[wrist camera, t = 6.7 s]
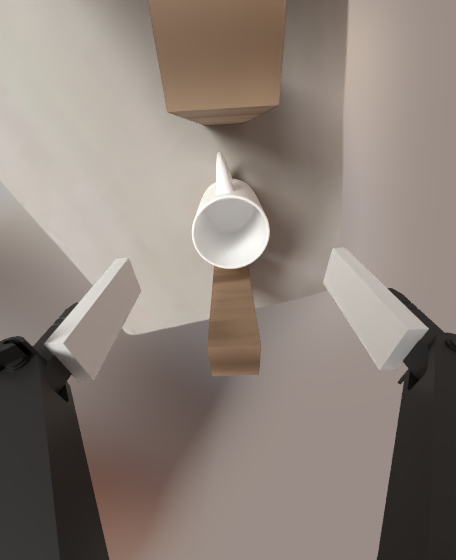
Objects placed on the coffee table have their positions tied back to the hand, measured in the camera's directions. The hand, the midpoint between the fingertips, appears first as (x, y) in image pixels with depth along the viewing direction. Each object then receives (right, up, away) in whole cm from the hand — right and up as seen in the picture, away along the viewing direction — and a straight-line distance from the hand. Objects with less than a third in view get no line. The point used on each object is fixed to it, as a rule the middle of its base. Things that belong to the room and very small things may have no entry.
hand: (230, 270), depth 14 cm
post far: (0, +3, +23) cm, 23 cm away
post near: (-1, +21, +10) cm, 23 cm away
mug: (0, +12, +17) cm, 21 cm away
